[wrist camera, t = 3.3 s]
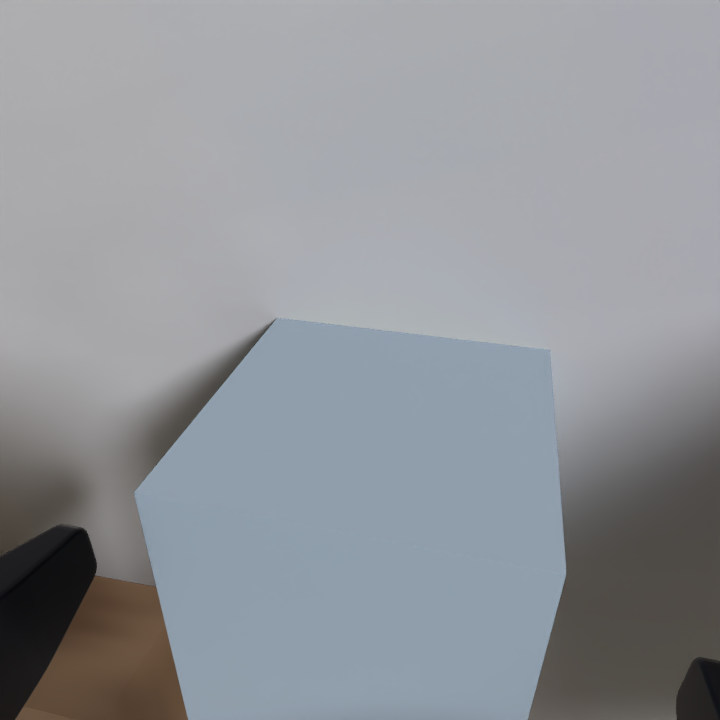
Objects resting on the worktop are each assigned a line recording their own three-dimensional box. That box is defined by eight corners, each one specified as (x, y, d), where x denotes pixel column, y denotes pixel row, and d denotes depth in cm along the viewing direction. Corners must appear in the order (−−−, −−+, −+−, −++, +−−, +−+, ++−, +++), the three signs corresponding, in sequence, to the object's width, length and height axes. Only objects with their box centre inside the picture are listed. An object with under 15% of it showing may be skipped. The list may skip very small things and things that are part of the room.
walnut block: (189, 582, 17) (102, 726, 13) (235, 758, 21) (179, 900, 18) (-73, 535, 19) (-204, 649, 15) (19, 704, 23) (-67, 822, 20)
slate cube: (550, 348, 10) (566, 574, 6) (510, 550, 13) (504, 809, 9) (278, 315, 11) (133, 493, 7) (290, 510, 14) (189, 725, 10)
